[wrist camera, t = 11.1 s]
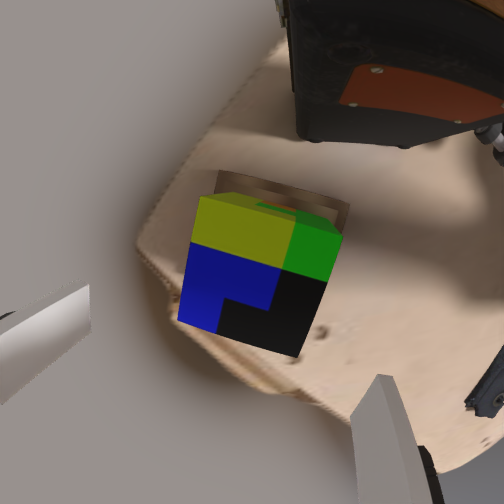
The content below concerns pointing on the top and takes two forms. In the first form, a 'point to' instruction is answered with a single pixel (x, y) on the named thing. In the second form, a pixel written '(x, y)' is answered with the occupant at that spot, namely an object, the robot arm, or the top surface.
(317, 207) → the plinth
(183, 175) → the top surface
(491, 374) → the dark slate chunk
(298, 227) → the puzzle toy
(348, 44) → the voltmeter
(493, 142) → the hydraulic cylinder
